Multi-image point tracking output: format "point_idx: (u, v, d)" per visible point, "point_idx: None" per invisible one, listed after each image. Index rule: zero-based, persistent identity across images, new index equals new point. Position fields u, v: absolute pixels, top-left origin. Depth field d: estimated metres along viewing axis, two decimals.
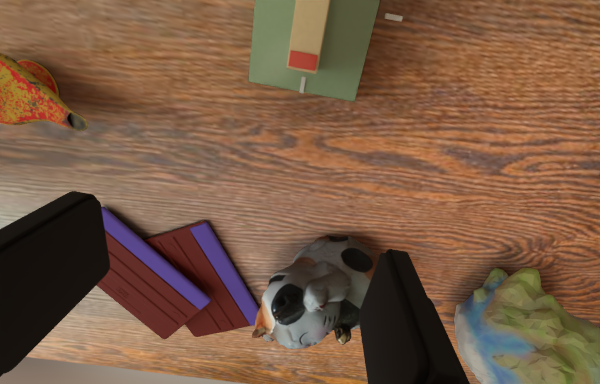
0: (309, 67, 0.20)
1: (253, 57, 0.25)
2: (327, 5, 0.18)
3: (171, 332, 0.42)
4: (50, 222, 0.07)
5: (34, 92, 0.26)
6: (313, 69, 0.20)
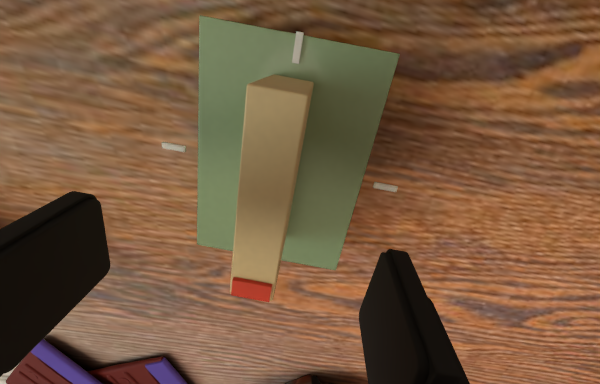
0: (261, 298, 0.14)
1: (201, 220, 0.19)
2: (282, 233, 0.12)
3: None
4: (50, 222, 0.07)
5: None
6: (267, 300, 0.14)
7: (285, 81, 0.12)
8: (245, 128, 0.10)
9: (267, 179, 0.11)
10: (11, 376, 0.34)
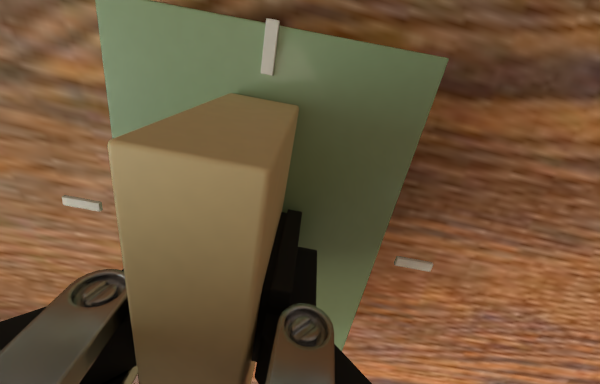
0: None
1: None
2: None
3: None
4: None
5: None
6: None
7: (240, 112, 0.06)
8: (123, 239, 0.04)
9: (191, 332, 0.05)
10: None
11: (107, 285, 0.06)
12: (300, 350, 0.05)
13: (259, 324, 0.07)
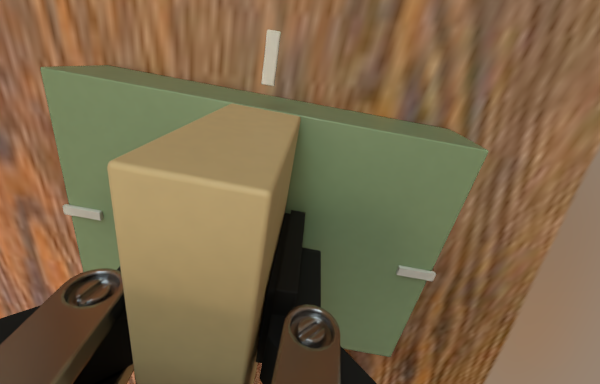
0: None
1: (107, 89, 0.09)
2: None
3: None
4: None
5: None
6: None
7: (241, 125, 0.06)
8: (122, 259, 0.04)
9: (191, 350, 0.05)
10: None
11: (101, 284, 0.06)
12: (305, 351, 0.05)
13: (264, 325, 0.07)
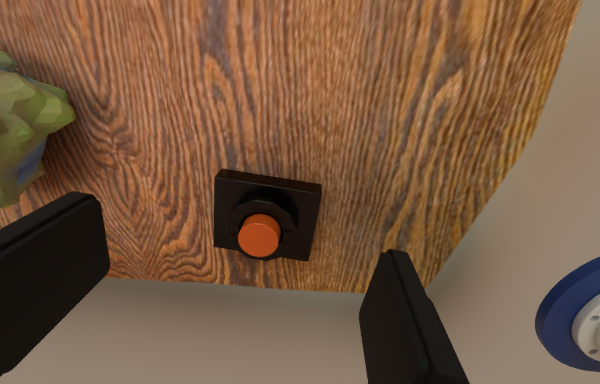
0: None
1: None
2: None
3: None
4: (50, 222, 0.07)
5: None
6: None
7: None
8: None
9: None
10: None
11: None
12: None
13: None
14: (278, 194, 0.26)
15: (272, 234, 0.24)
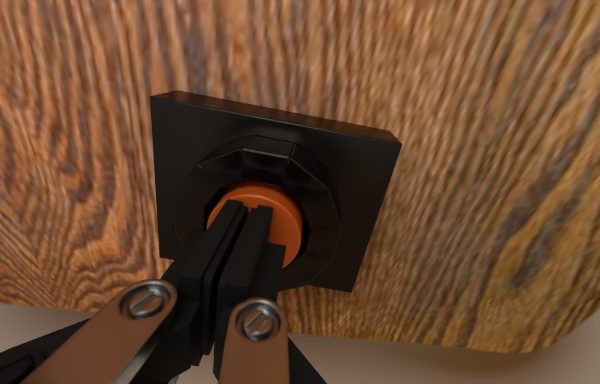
0: None
1: None
2: None
3: None
4: (232, 227, 0.08)
5: None
6: None
7: None
8: None
9: None
10: None
11: (153, 295, 0.06)
12: (252, 345, 0.05)
13: (218, 319, 0.07)
14: (298, 142, 0.11)
15: (287, 223, 0.10)
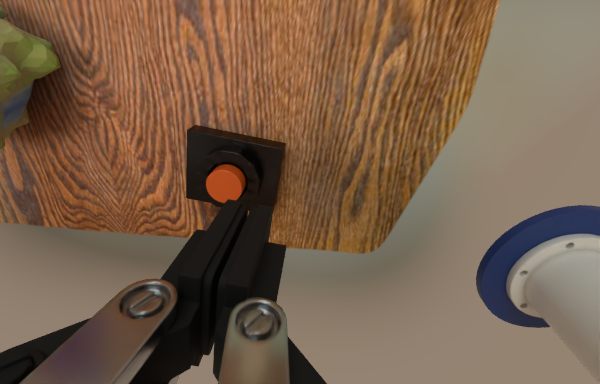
0: None
1: None
2: None
3: None
4: (232, 227, 0.08)
5: None
6: None
7: None
8: None
9: None
10: None
11: (153, 295, 0.06)
12: (252, 345, 0.05)
13: (218, 319, 0.07)
14: (244, 148, 0.29)
15: (236, 181, 0.27)
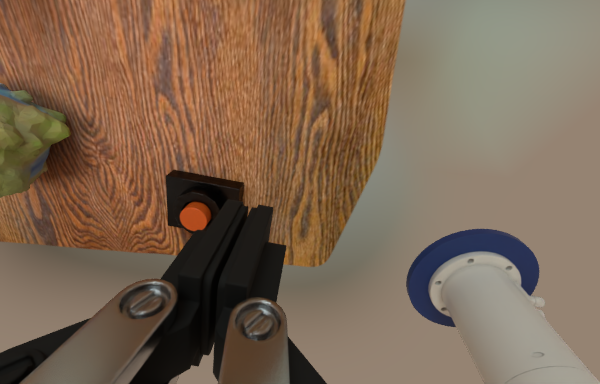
0: None
1: None
2: None
3: None
4: (232, 227, 0.08)
5: None
6: None
7: None
8: None
9: None
10: None
11: (153, 295, 0.06)
12: (252, 345, 0.05)
13: (218, 319, 0.07)
14: (210, 188, 0.38)
15: (202, 215, 0.36)
